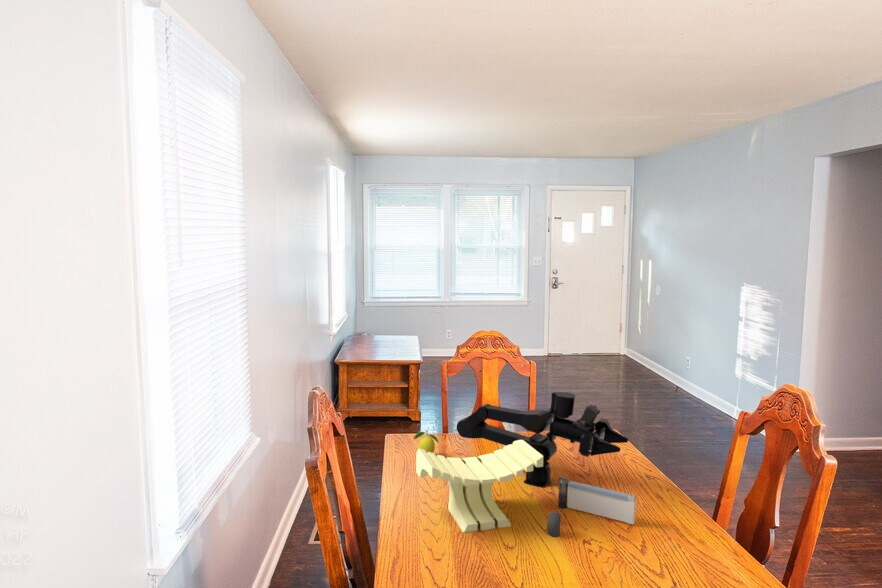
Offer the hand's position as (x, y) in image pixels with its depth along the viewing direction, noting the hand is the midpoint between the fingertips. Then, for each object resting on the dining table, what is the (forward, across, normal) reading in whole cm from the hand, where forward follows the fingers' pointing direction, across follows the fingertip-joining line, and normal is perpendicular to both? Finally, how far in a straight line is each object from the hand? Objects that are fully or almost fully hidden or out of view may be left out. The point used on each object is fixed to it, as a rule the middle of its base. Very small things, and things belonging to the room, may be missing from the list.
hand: (624, 445), depth 160 cm
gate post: (-12, -12, +18) cm, 24 cm away
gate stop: (-8, -27, +18) cm, 34 cm away
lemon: (-62, -2, +23) cm, 67 cm away
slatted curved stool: (-29, -29, +20) cm, 46 cm away
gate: (-1, -11, +17) cm, 20 cm away
